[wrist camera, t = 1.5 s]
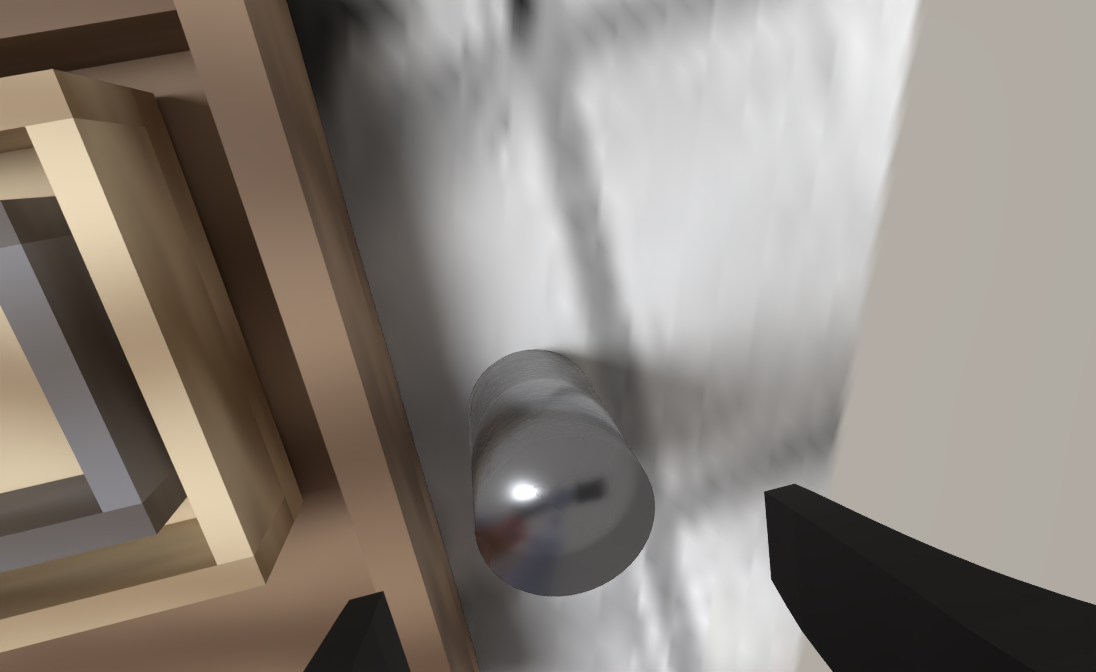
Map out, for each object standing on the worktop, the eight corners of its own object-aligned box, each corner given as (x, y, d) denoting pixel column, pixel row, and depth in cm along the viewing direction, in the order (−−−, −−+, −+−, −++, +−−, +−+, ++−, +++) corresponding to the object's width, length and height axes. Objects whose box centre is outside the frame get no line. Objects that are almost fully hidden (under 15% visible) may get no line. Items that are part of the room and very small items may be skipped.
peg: (602, 450, 19) (665, 570, 13) (483, 479, 19) (496, 615, 13) (582, 337, 18) (642, 416, 12) (455, 366, 18) (455, 462, 12)
